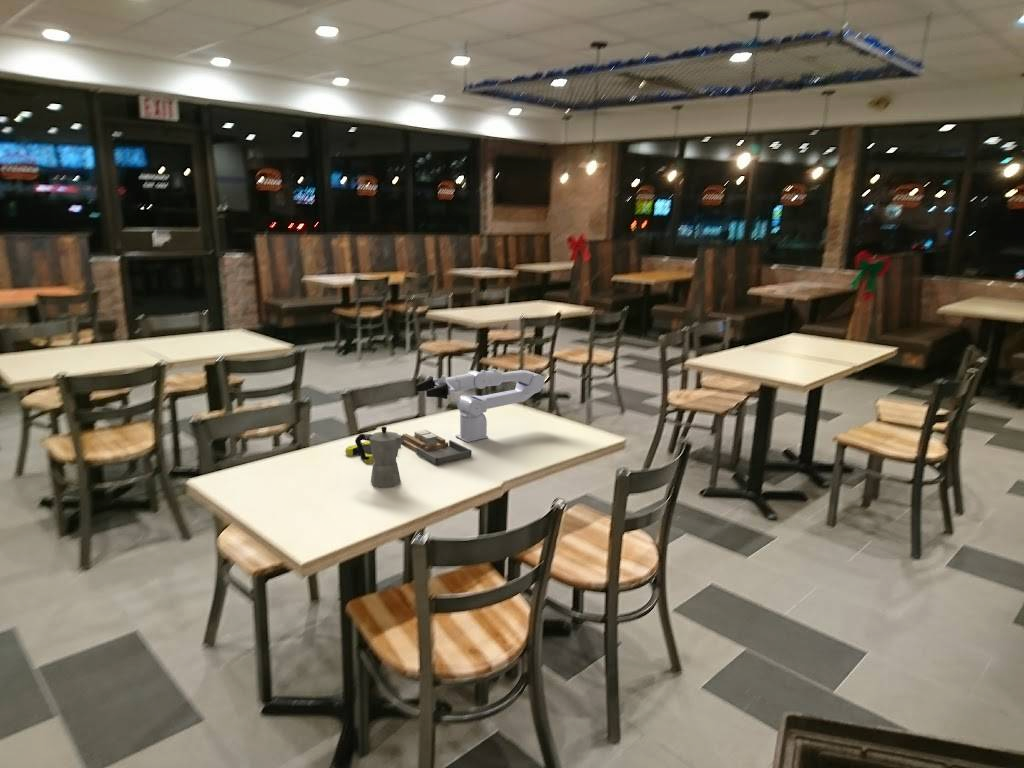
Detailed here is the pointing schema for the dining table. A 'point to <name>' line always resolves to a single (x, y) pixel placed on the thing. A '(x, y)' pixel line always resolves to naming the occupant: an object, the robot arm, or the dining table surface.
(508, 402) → the robot arm
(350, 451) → the stun gun
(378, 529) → the dining table surface
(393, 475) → the coffeepot
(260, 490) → the dining table surface
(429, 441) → the chip front
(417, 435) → the block
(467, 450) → the tray
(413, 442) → the slot board
